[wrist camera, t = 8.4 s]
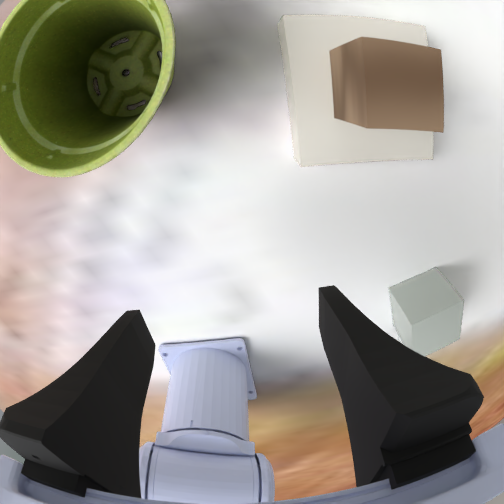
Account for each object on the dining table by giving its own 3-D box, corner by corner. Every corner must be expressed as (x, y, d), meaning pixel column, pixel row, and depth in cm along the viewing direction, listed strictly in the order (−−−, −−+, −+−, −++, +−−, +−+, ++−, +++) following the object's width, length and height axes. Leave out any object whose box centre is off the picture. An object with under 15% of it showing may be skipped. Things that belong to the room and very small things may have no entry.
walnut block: (396, 119, 16) (443, 132, 11) (333, 118, 16) (367, 128, 11) (393, 55, 14) (440, 49, 9) (329, 50, 14) (361, 36, 9)
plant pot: (181, -13, 13) (143, -73, 6) (220, 114, 18) (205, 128, 10) (56, 46, 14) (-28, 40, 6) (92, 161, 18) (18, 207, 11)
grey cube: (436, 305, 26) (459, 339, 22) (393, 325, 27) (412, 362, 23) (435, 266, 24) (464, 299, 20) (387, 287, 25) (411, 325, 20)
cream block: (411, 149, 19) (432, 159, 17) (292, 156, 20) (301, 167, 17) (402, 31, 15) (424, 26, 12) (276, 26, 15) (282, 15, 13)
